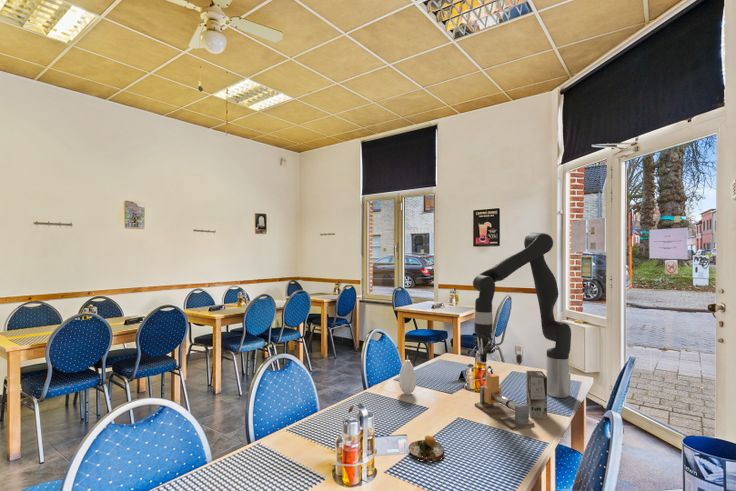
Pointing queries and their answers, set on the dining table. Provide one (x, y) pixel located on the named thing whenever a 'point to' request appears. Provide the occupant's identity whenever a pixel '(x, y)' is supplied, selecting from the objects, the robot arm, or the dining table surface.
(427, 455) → the bowl of food
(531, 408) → the coffee box
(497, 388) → the collar
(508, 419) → the base board
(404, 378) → the white teardrop vase
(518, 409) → the pipe
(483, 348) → the robot arm
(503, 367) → the dining table surface
